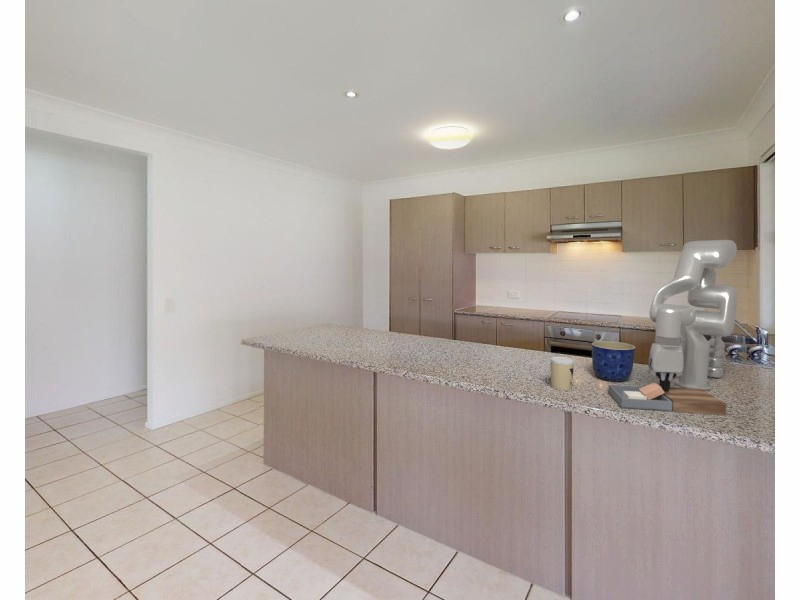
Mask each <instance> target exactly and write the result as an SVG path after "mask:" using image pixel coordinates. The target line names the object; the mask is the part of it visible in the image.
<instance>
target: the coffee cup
mask: <svg viewBox="0 0 800 600" xmlns="http://www.w3.org/2000/svg"><path fill="white" fill-rule="evenodd" d="M549 359H550V360H549V363H550V365H549V366H550V383H551V384H550V386H551V388H552V389H553V390H556V389H557V391H563V390H566V391H570V389H571V390H572V386H573V377H574V367H575V360H574V359H573V358H570V357H567V356H553V357H550V358H549Z"/></svg>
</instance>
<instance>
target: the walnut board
mask: <svg viewBox="0 0 800 600" xmlns="http://www.w3.org/2000/svg"><path fill="white" fill-rule="evenodd" d="M663 395H664V396H665V397H667V398H668V399H669V400H671V401H672V412H674V413H683V414H684V413H687V414H700V415H701V414H703V415H718V416H726V412H727V411H726V410H727V402H724V401H723V400H721V399H720V398H717V397H715V396H714V395H713V394H711V393H709V392H707V390H703V389H696V388H685V387H677V386H675V387H672V386H670V389H669V392H666V391H665V392H664V394H663Z"/></svg>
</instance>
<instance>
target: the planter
mask: <svg viewBox="0 0 800 600" xmlns="http://www.w3.org/2000/svg"><path fill="white" fill-rule="evenodd" d="M635 353H636V346H635V345H633V344H630V343H626V342H621V341H620V342H619V341H609V340H608V341H607V340H604V341H602V340H601V341H600V340H599V341H593V342H592V343H591V359H592V361H591V363H592V370H593V371H594V372H593V373H594V374H595V376H597V377H598V378H599V379H602V380H604V381H608V382H624V381H626V380H628V379H629V378H630V376H631V375H632V373H633V369H634V361H635V355H636V354H635Z"/></svg>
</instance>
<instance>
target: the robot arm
mask: <svg viewBox="0 0 800 600" xmlns="http://www.w3.org/2000/svg"><path fill="white" fill-rule="evenodd" d="M737 249H738V248H737V244H736V243H735V241H734V240H730V239H714V240H713V239H712V240H709V239H706V240H694V241H693V240H692V241H688V242H685V244H683V246H682V251H681V253H680V255H679V258H678V261H677V265H676V269H675V272H674V274H673V278H672V280H670V281H669V282H667V283H666V284H664V285H663V286H662V287H660V288H659V289H658V291H656V293H655V294H654V296H653V299H652V300H651V304H650V308H649V314H648V315H649V320H651V322H653V323H655V338H654V342H652V344H651V347H650V350H649V354H648V355H649V356H648V363H647V366H648V369H649V370H648V374H650V375H652V376H656V377H657V378H658V379H659V382H658V383H659V384H658V385H659V386H660V387H661V388H662V389H663V391H664V392H665V391H666V392H669V389H670V387H671V382H672V381H673V383H674V385H677V386H679V387H680V388H696V389H703V390H704V391H708V390H711V389H712V384H711V383H709V382H708V377H709V376H708V362H709V349H710V346H709V343H708V341H709V340H708V339H707V338H706V337H705V336H704V335H707V336H711V335H713V336H722V338H724V337H730V336H731V335H732V334H733V332H734V328H735V322H736V313H737V307H738V306H737V305H738V291H737V289H736V288H735V287H734V286H731V285H726V284H725V285H723V284H716V279H717V278H716V277H717V272H716V269H722V268H725V267H726V266H728V264H730V263H731V262H732V261H733V260H734V259H735V257H736V255H737V251H738V250H737ZM685 292H687V303H688V304H689V305H690V306H689V305H684V304H683V305H682V304H681V305H680V304H671V303H668V304H667V303H665V302H666V301H667V300H668V299H670V298H671V297H673V296H675V295H679V294H681V293H685ZM694 307H695V308H704V309H716V310H720V312H719V311H709V310H701V309H700V310H698V309H697V310H696V309H694ZM676 377H678V378H676ZM675 378H676V379H675ZM673 379H674V380H673Z"/></svg>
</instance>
